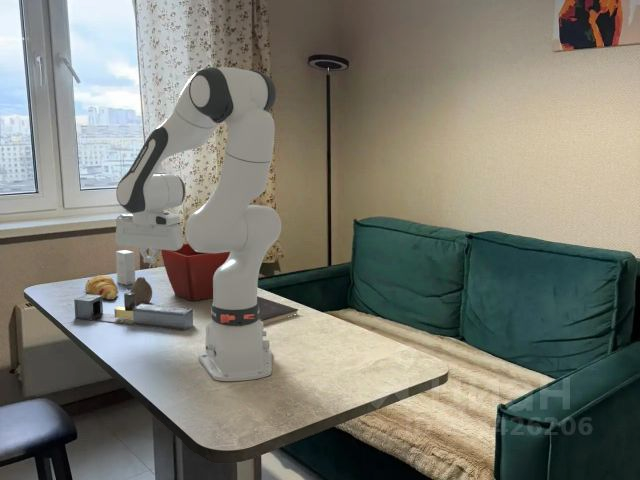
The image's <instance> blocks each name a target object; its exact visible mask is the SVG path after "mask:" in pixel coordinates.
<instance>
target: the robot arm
mask: <svg viewBox="0 0 640 480" xmlns="http://www.w3.org/2000/svg"><path fill="white" fill-rule="evenodd" d="M276 89H277V88H276V86H275V83H274V81H273V79H272V78H271V76H269V75H267V74H266V73H264V72H262V71H258V70H250V69H249V70H248V69H242V68H237V67H231V66H230V67H229V66H228V67H213V66H210V67H204V68H201V69H198V70H197V71H195V72H194V74H193V75H192V76H190V78H189V79H188V81H187V82H186V84H185V86H184V87H183V88H182V91H181V92H180V95H179V96H178V98H177V101H176V104H175V105H174V108H173V109H172V111H171V113H170V115H169V116H168V117H167V118H166V119H165V120H164V122H162V123H161V125H159V126H157V128H155V129H154V130H153V131H151V133H149V136H147V139H146V141H145V142H144V144H143V145H142V147H141V149H140V151H139V152H138V153H137V156H136V158H135V159H134V161H133V163H132V165H131V167H130V168H129V169H128V170H127V172H126V173H125V174H124V175H123V176H122V178H121V179H120V180H119V183H118V184H117V186H116V191H115V192H116V199H117V202H118V204H119V205H120V206H121V207H122V208H123V209H124V210H126V211H127V212H129V213H130V214H125V213H124V214H123V213H122V214H120V215H118V216H117V217H116V220H115V226H116V227H115V239H114V240H115V244H116V246H118V247H125V248H126V247H128V248H138V249H139V253H140V255H141V256H142V259H143V263H144V264H156V257H157V255H158V253H159V251H160V250H172V251H176V250H179V249H181V248H182V246H183V244H184V235H183V230H182V226H181V225H180V224H179V223H180V222H181V217H180V215H179V214H176V213H173V212H172V211H169V210H168V209H172V208H177V207H179V206H181V204H182V203H183V202H184V200H185V198H186V184H185V182H184V180H183V179H182V178H181V177H180V176H179V175H178V174H175V173H171V172H169V170H167V169H166V168H165V167H163V164H162V162H163V161H164V160H166V159H168V158H169V157H172V156H174V155H177V154H180V153H182V152H186V151H190V150H195V149H198V148H200V147H202V146H203V145H205V144H206V143H207V142H208V141H209V140H210V138H211V137H212V135H213V134H214V132H215V130H216V127H217V125H218V124H221V123H223V122H224V123H225V125H226V127H227V139H226V144H225V149H224V154H223V155H224V156H223V161H222V166H221V171H220V175H219V179H218V182H217V184H216V186H215V188H214V190H213V192H212V193H211V195H210V197H209V198H208V199H207V200H206V202H204V204H203V205H202V206H201V207H200V208H199V209H198V210H197V209H196V211H194V212H193V213H191V215H190V216H189V217H188V219H187V221H186V224H185V227H184V231H185V240H186V241H187V244H189V245H190V246H191V247H192V249H194V250H195V251H196V252H202V253H214V254H216V253H223V252H230V251H231V252H230V255H229V257H228V259H227V260H226V262H225V263H224V264H223V265H222V266H220V267H219V268H218V269H217V270H216V272H215V274H214V277H213V297H212V298H213V299H212V301H213V302H212V304H211V308H210V312H211V321H210V322H209V323H208V324H207V325H206V326H205V346H204V347H205V351H202V352H200V353H199V354H198V358H197V359H198V361H199V362H200V363H201V365H202V366H203V367H204V368H205V370H206V371H207V373H208V375H210V377H211V378H212V379H213V380H215V381H220V382H221V381H223V382H238V381H239V382H240V381H250V380H256V379H257V380H258V379H262V378H265V377H268V376H271V375H272V373H273V372H272V371H273V370H272V369H273V368H272V367H273V366H272V364H273V363H272V362H273V361H272V357H273V356H272V354H273V353H272V349H271V348H270V340H268V339H265V340H264V337H267V330H264V325H263V322H262V321H260V320H259V304H258V302H257V296H258V284H259V283H258V282H259V274H260V269H261V266H262V263H263V261H264V258H265V256H266V254H267V252H268V251H269V249H270V248H271V246H273V244H275V242H276V241H278V239H279V238H280V235H281V231H282V220H281V218H280V215H279V213H278V212H277V211H276V210H275V209H274V208H273V207H271V206H265V205H259V204H251V203H252V202H253V201H254V200H255V199H257V198H258V197H259V196H261V195H262V194H263V193H264V192H265V191H266V188H267V186H268V185H267V184H268V180H269V176H270V175H269V174H270V169H271V164H272V160H273V153H274V147H275V131H276V130H275V129H276V128H275V120H274V118H273V116H272V114H271V113H269V111H271V110H272V108H273V107H274V105H275V103H276V97H277V90H276ZM148 249H150V252H151V253H152V254H151V256H150V255H149V254H148V252H147V251H148Z"/></svg>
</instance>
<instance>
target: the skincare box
mask: <svg viewBox="0 0 640 480" xmlns="http://www.w3.org/2000/svg"><path fill="white" fill-rule="evenodd" d="M115 259H116V260H115V261H116V263H115V264H116V282H117V283H118V284H122V285H124V286H128V285H133V284H134V283H135V282H136V265H135V264H136V263H135V259H136V258H135V251H131V250H126V249H123V250H117V251H115Z"/></svg>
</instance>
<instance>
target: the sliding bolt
mask: <svg viewBox="0 0 640 480" xmlns="http://www.w3.org/2000/svg"><path fill="white" fill-rule="evenodd" d="M123 299H124V300H123V302H124V306H117V307H116V308H114V315H115V318H125V319H133V308H135V307H137V305H136V300H135V293H132V292H131V291H130V292H125V293H124V294H123Z"/></svg>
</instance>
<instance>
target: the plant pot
mask: <svg viewBox="0 0 640 480" xmlns="http://www.w3.org/2000/svg"><path fill="white" fill-rule="evenodd" d="M160 250H161V249H160ZM160 252H161V256H162V261H163V265H164V269H165V272H166V275H167V278H168V281H169V284H170V286H171V288H172V291H173V293H174V294H175V295H177V296H179V297H182V298H183V299H187V300H188V301H191V302H196V301H201V300H206V299H211V298H213V277H214V274H215V272H216V270H217V269H218V268H219V267H220V266H222V265H223V264H224V263H225V262H226V260H227V259H228V257H229V255H230V252H231V251H230V252H223V253H216V254H214V253H202V252H196V251H195V250H194V249H192V247H191V246H190V245H189V243H183V246H182V248H181V249H179V250H176V251H172V250H161V251H160Z"/></svg>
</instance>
